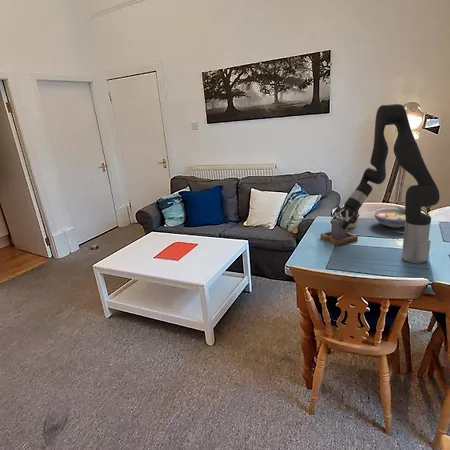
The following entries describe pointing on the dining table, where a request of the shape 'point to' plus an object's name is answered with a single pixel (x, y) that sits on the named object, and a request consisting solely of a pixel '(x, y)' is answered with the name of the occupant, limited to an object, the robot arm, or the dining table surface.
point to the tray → (349, 239)
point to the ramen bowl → (391, 217)
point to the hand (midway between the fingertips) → (337, 226)
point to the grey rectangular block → (338, 229)
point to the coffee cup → (351, 224)
